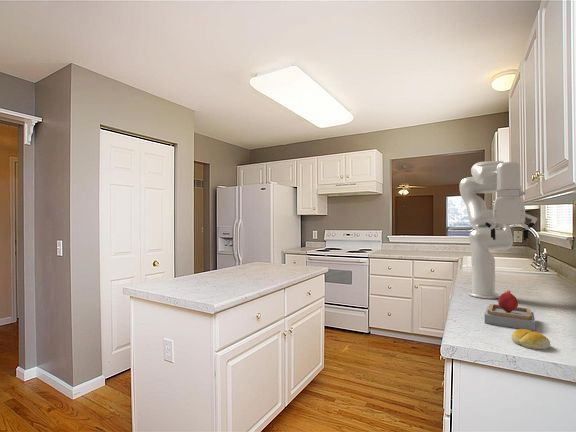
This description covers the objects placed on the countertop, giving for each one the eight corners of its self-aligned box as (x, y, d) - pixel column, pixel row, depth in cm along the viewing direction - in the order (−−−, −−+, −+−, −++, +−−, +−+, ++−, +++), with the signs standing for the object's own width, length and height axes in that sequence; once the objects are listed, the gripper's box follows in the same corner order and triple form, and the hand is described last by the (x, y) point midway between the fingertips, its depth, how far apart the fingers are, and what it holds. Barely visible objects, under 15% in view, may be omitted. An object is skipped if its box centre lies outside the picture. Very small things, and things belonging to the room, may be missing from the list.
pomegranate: (503, 314, 113) (503, 291, 113) (495, 310, 118) (494, 288, 119) (521, 315, 112) (521, 292, 112) (512, 310, 118) (512, 288, 118)
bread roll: (526, 337, 100) (526, 324, 100) (556, 349, 91) (555, 334, 91) (503, 339, 98) (503, 326, 98) (531, 351, 89) (531, 337, 89)
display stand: (487, 313, 125) (487, 302, 125) (533, 320, 116) (533, 308, 116) (484, 323, 113) (484, 311, 113) (535, 330, 105) (534, 317, 105)
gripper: (536, 194, 122) (537, 240, 121) (483, 196, 132) (483, 238, 131) (537, 193, 116) (538, 241, 115) (481, 195, 126) (481, 239, 125)
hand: (509, 240), depth 123 cm, fingers open, 9 cm apart
